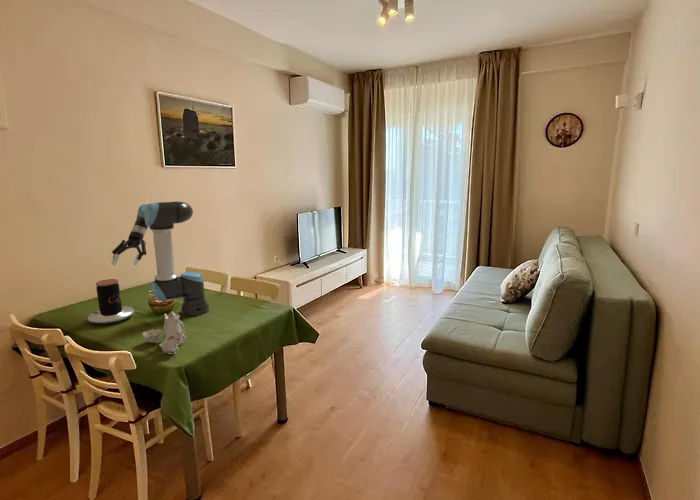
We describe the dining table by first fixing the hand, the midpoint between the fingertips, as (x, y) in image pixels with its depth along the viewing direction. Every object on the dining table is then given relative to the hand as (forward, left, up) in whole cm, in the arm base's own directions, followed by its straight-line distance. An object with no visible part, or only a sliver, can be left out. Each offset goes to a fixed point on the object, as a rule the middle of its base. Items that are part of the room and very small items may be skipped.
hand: (124, 264), depth 225 cm
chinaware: (-49, +42, -28) cm, 71 cm away
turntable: (+1, +14, -26) cm, 29 cm away
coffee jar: (+1, +14, -24) cm, 28 cm away
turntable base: (+1, +14, -28) cm, 31 cm away
